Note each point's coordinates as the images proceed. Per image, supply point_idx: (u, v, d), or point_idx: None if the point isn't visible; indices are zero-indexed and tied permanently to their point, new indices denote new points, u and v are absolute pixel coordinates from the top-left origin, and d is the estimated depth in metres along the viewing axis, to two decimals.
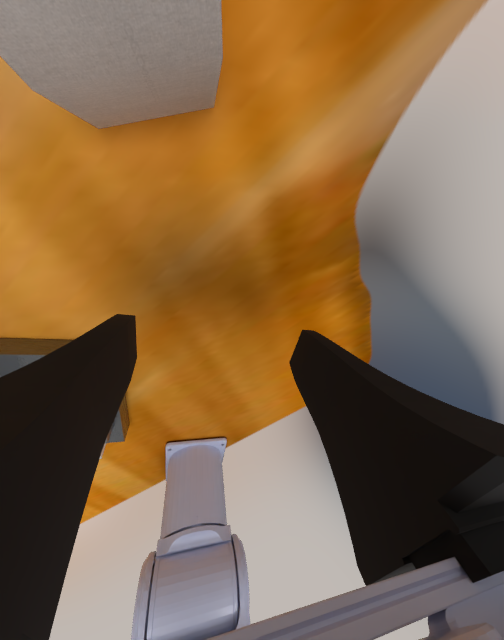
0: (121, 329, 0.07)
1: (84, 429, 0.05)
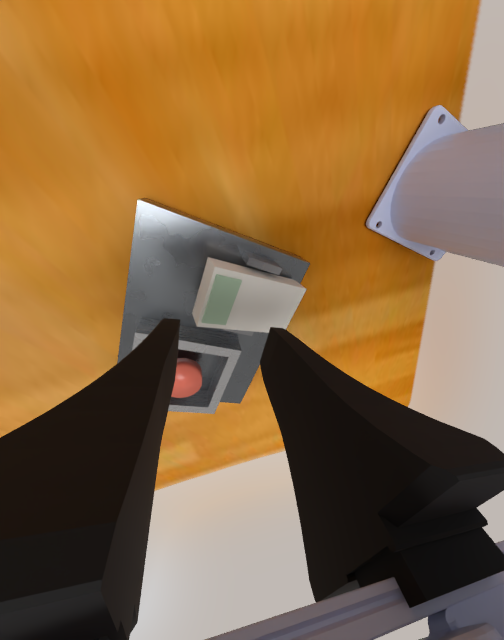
0: (176, 332, 0.07)
1: (158, 425, 0.05)
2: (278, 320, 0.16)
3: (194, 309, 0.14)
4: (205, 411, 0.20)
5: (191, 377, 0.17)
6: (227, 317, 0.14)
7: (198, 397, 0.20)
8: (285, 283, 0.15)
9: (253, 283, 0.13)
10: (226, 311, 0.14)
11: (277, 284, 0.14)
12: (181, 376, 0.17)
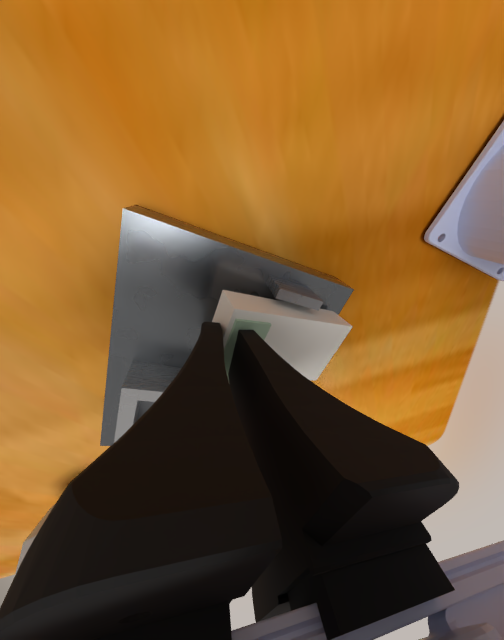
0: (222, 335, 0.08)
1: None
2: (312, 366, 0.12)
3: None
4: None
5: None
6: None
7: None
8: (327, 321, 0.11)
9: (286, 326, 0.10)
10: None
11: (317, 325, 0.10)
12: None
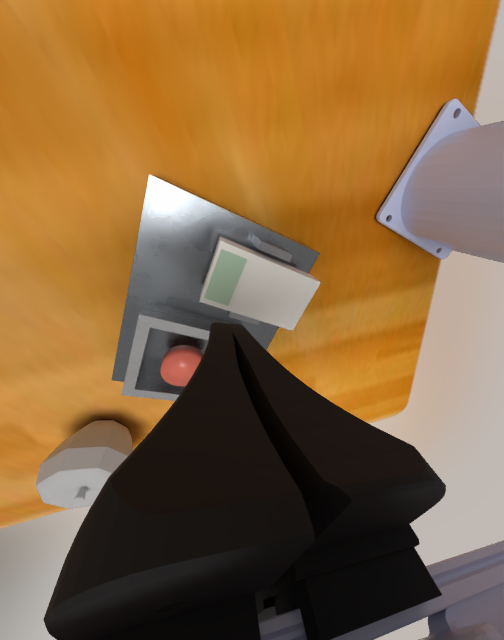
0: (232, 336, 0.08)
1: None
2: (287, 313, 0.15)
3: None
4: None
5: (194, 365, 0.16)
6: (230, 297, 0.14)
7: None
8: (296, 272, 0.14)
9: (259, 265, 0.13)
10: (229, 290, 0.14)
11: (287, 271, 0.14)
12: (184, 363, 0.16)
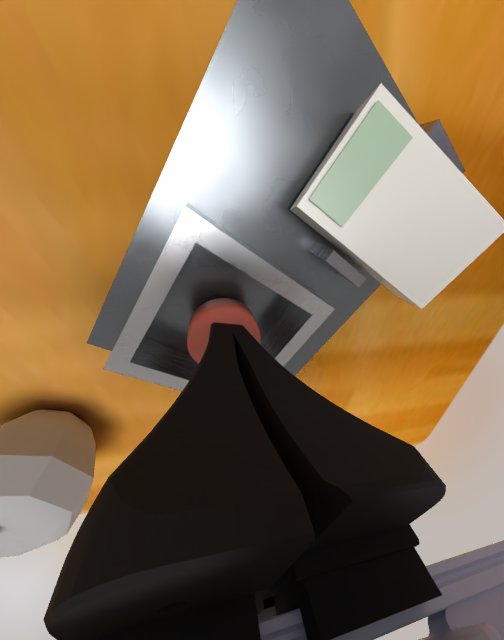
0: (232, 336, 0.08)
1: None
2: (427, 272, 0.09)
3: (297, 198, 0.09)
4: None
5: None
6: (351, 212, 0.08)
7: None
8: (476, 194, 0.08)
9: (425, 159, 0.07)
10: (357, 195, 0.08)
11: (464, 187, 0.08)
12: None
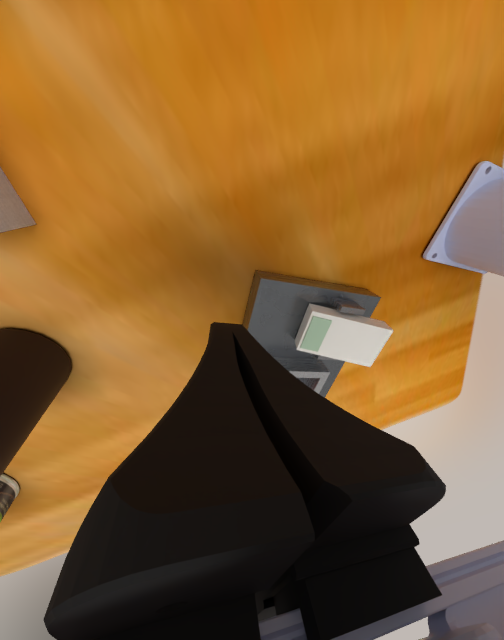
0: (232, 336, 0.08)
1: None
2: (364, 354, 0.19)
3: (296, 337, 0.20)
4: None
5: None
6: (319, 346, 0.19)
7: None
8: (371, 324, 0.18)
9: (341, 323, 0.18)
10: (318, 341, 0.19)
11: (363, 325, 0.18)
12: None
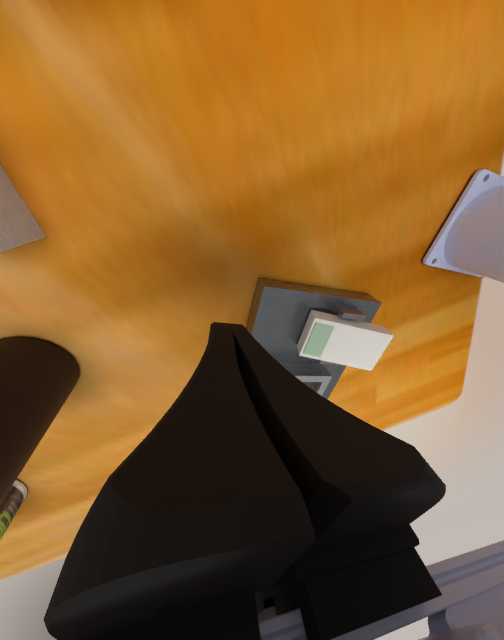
0: (232, 336, 0.08)
1: None
2: (366, 359, 0.20)
3: (298, 343, 0.21)
4: None
5: None
6: (321, 351, 0.19)
7: None
8: (372, 330, 0.18)
9: (343, 329, 0.18)
10: (321, 347, 0.19)
11: (365, 331, 0.18)
12: None
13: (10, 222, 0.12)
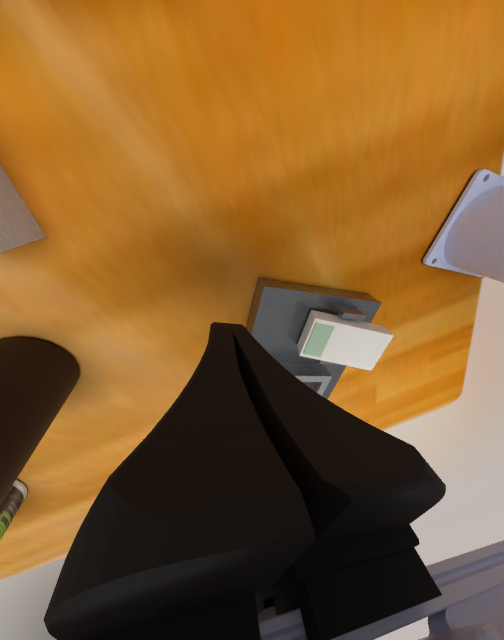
0: (232, 336, 0.08)
1: None
2: (366, 358, 0.20)
3: (298, 343, 0.21)
4: None
5: None
6: (322, 352, 0.19)
7: None
8: (372, 330, 0.18)
9: (343, 329, 0.18)
10: (321, 347, 0.19)
11: (364, 331, 0.18)
12: None
13: (10, 222, 0.12)
